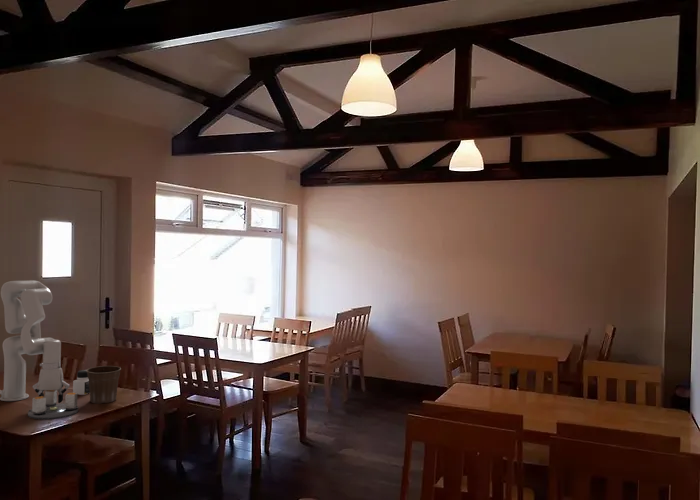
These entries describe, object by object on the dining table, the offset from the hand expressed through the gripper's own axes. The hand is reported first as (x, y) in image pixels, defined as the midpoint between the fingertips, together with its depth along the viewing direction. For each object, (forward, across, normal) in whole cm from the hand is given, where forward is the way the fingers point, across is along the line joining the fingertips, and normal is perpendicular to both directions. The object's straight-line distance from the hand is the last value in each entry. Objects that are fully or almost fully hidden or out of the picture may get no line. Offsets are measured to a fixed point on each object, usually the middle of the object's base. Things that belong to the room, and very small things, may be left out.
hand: (50, 402), depth 272 cm
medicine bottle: (+3, +5, +30) cm, 31 cm away
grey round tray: (+3, +4, -7) cm, 8 cm away
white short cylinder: (+1, +12, -7) cm, 14 cm away
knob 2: (+1, 0, 0) cm, 1 cm away
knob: (+1, 0, -14) cm, 14 cm away
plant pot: (+3, +20, +14) cm, 25 cm away
